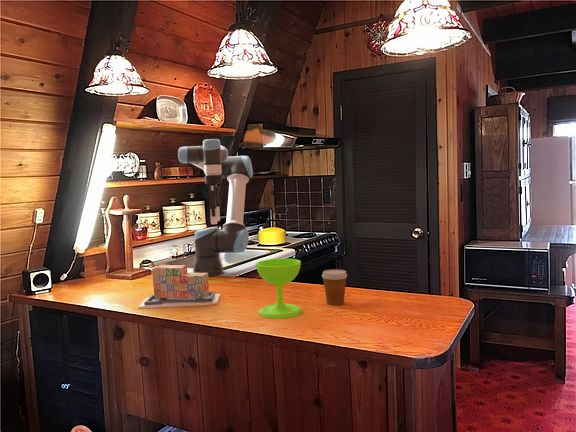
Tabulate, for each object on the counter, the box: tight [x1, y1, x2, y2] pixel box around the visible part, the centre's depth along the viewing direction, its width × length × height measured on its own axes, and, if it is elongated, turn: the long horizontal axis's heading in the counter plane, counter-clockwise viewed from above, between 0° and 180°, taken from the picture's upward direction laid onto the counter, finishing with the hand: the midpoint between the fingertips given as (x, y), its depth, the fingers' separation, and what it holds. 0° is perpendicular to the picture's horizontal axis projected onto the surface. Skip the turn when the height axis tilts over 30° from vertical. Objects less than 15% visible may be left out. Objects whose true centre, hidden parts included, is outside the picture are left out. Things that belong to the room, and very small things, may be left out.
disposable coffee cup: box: [321, 269, 348, 306], centre depth 187 cm, size 10×10×12 cm
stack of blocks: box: [151, 264, 210, 299], centre depth 198 cm, size 21×6×12 cm, turn 74°
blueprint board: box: [137, 291, 221, 309], centre depth 198 cm, size 14×30×2 cm, turn 93°
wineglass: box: [255, 258, 304, 320], centre depth 178 cm, size 16×16×18 cm
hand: (215, 222), depth 221 cm, fingers open, 13 cm apart
